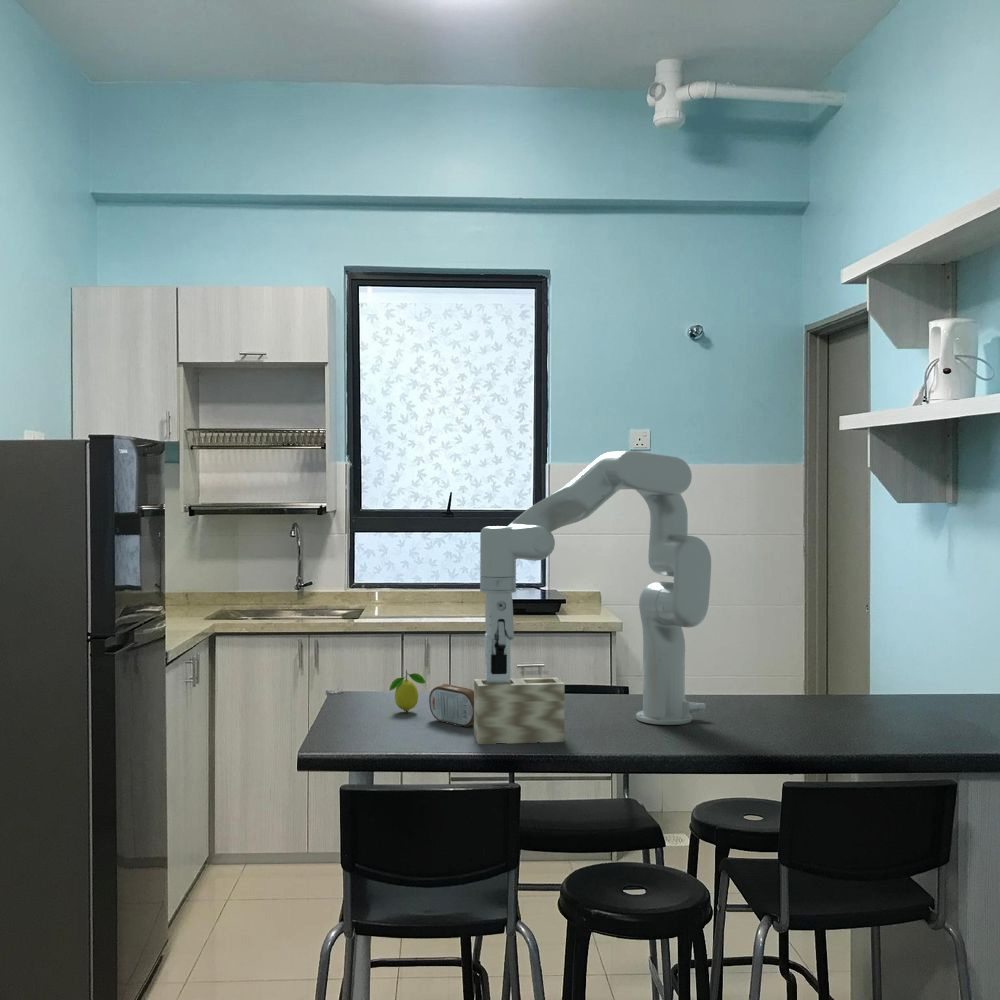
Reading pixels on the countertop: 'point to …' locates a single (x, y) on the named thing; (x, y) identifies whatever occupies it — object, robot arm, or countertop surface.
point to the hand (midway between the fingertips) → (497, 671)
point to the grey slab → (489, 676)
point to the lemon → (406, 691)
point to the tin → (452, 704)
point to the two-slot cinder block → (519, 711)
